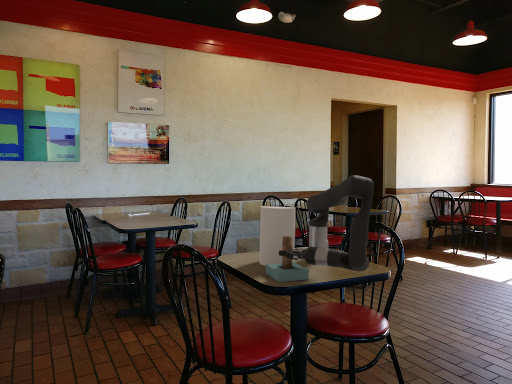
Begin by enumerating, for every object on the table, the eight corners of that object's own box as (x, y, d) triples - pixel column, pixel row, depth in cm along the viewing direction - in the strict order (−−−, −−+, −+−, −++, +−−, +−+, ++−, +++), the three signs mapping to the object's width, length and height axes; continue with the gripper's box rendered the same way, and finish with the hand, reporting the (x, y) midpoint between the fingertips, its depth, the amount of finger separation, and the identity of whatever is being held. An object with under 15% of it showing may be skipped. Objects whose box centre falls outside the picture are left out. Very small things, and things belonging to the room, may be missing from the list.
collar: (294, 271, 180) (294, 262, 180) (308, 279, 167) (308, 270, 167) (265, 273, 176) (265, 264, 175) (278, 281, 162) (278, 272, 162)
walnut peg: (289, 271, 174) (290, 235, 173) (293, 274, 170) (294, 237, 169) (280, 272, 173) (280, 236, 172) (284, 274, 168) (284, 237, 168)
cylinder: (292, 268, 186) (293, 209, 185) (256, 265, 189) (257, 207, 188) (295, 260, 203) (297, 206, 201) (262, 258, 206) (263, 204, 205)
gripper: (324, 244, 170) (288, 240, 178) (313, 250, 158) (274, 245, 166) (324, 262, 171) (287, 257, 179) (312, 268, 158) (274, 263, 166)
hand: (281, 251), depth 172 cm, fingers closed on walnut peg, 4 cm apart
